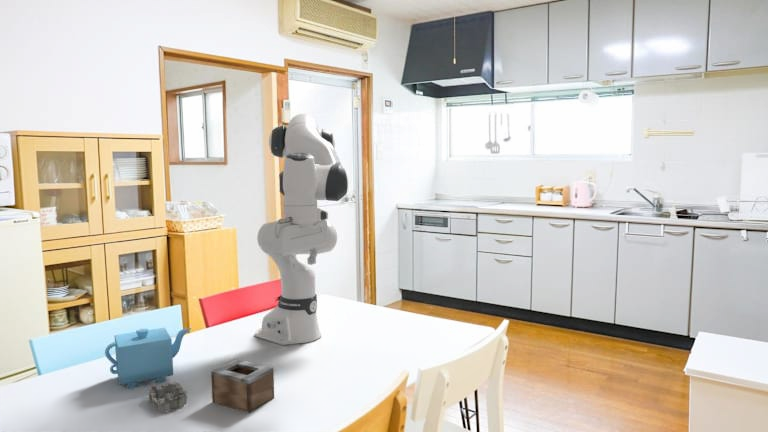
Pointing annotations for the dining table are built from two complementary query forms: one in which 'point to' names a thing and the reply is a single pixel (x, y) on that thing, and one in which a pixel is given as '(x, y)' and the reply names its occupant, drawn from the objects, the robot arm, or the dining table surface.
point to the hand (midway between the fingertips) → (301, 267)
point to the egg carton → (168, 396)
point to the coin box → (242, 385)
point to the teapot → (144, 355)
